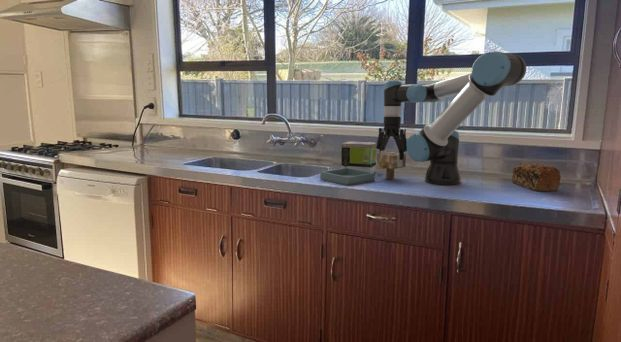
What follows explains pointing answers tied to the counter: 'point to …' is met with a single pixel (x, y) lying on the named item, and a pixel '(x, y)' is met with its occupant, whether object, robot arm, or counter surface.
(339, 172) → the tray
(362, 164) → the tea box
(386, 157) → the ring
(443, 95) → the robot arm
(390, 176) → the post
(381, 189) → the counter surface
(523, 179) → the bread
